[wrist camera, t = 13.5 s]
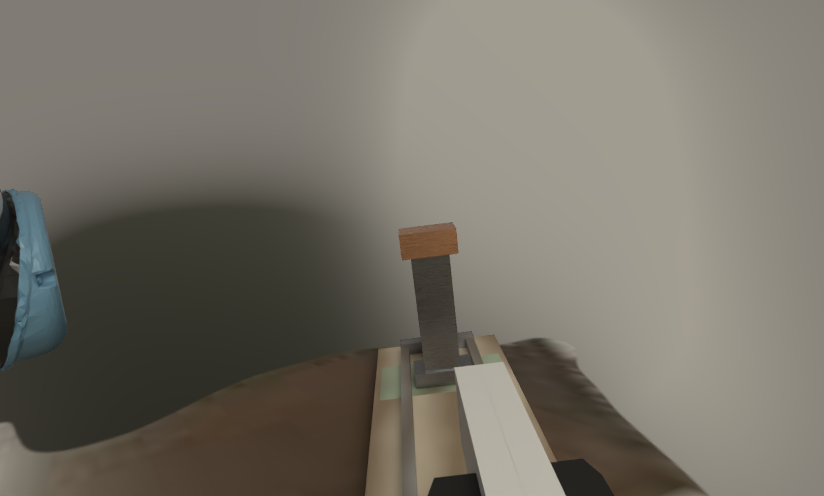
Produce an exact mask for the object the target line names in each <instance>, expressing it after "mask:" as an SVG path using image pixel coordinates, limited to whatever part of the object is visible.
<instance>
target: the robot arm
mask: <svg viewBox="0 0 824 496" xmlns="http://www.w3.org/2000/svg"><path fill="white" fill-rule="evenodd" d="M66 334H67V323H66V318H65V313H64V308H63V303H62V298H61V293H60V289H59V284H58V279H57V274H56V270H55V265H54V260H53V255H52V251H51V246H50V242H49V237H48V232H47V227H46V223H45V218H44V213H43V208H42V204H41V200H40V198H39V197H38V195H37V194H34V193H33V192H30V191H17V190H14V189H11V190H4V191H3V192H2V193H1V191H0V371H4V370H7V369H8V368H10V367H11V366H12V365H14V364H16V363H19V362H22V361H25V360H28V359H31V358H34V357H37V356H40V355H43V354H46V353H48V352H51V351H52V350H54V349H55V348H57V347H58V346H59V345H60V344H61V343H62V342H63V340H64V339H65V337H66ZM454 372H455V383H456V393H457V404H458V414H459V425H460V435H461V444H462V449H463V454H464V459H465V463H466V468H467V473H468V474H462V475H453V476H445V477H437V478H434V479H433V482H432V485H431V487H430V490H429V493H428V495H427V496H614V494H613V493H612V491H611V489H610V488H609V486H608V485H607V483H606V481H605V480H604V478H603V476H602V475H601V474H600V473H599V472H598V471H597V470H595V469H594V468H593V467H592V466H591V465H589V464H588V463H587V462H586V461H585V460H584V459H576V460H567V461H559V462H550V461H549V459H548V457H547V454H546V452H545V450H544V448H543V446H542V444H541V442H540V439H539V437H538V435H537V433H536V431H535V429H534V427H533V425H532V422H531V420H530V418H529V416H528V414H527V412H526V410H525V407H524V405H523V403H522V401H521V399H520V397H519V395H518V392H517V390H516V388H515V386H514V384H513V382H512V380H511V377H510V375H509V373H508V371H507V369H506V367H505V365H504V363H503V362H497V363H488V364H480V365H471V366H463V367H454Z"/></svg>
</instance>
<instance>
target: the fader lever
mask: <svg viewBox="0 0 824 496" xmlns="http://www.w3.org/2000/svg"><path fill="white" fill-rule="evenodd" d="M399 242H400V249H401V257H402V260H409V259H411V263H412V271H413V279H414V287H415V294H416V303H417V311H418V319H419V327H420V335H421V343H422V351H423V359H424V360H417V361H414V373H415V382H416V388H422V387H430V386H438V385H446V384H454V383H455V372H454V367H463V366H471V364H470V361H469V358H468V354H465V355H459V345H458V335H457V326H456V316H455V306H454V296H453V287H452V277H451V267H450V257H449V255H450V254H457V253H458V243H457V233H456V228H455V226H454V224H453V223H452V222H450V223H443V224H434V225H426V226H418V227H411V228H402V229H399Z"/></svg>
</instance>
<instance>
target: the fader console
mask: <svg viewBox="0 0 824 496" xmlns="http://www.w3.org/2000/svg"><path fill="white" fill-rule="evenodd" d="M457 335H458V345H459V355H465V354H468V358H469V361H470V364H471V365H480V364H488V363H497V362H503V363H504V365H505V367H506V369H507V371H508V373H509V375H510V377H511V380H512V382H513V384H514V386H515V388H516V390H517V392H518V395H519V397H520V399H521V401H522V403H523V405H524V407H525V410H526V412H527V414H528V416H529V418H530V420H531V422H532V425H533V427H534V429H535V431H536V433H537V435H538V437H539V439H540V442H541V444H542V446H543V448H544V450H545V452H546V454H547V457H548V459H549V461H550V462H557V461H556V459H555V457H554V455H553V453H552V451H551V449H550V447H549V445H548V443H547V441H546V439H545V437H544V435H543V433H542V430H541V428H540V426H539V424H538V422H537V420H536V418H535V416H534V414H533V412H532V410H531V408H530V406H529V404H528V402H527V400H526V398H525V396H524V394H523V392H522V390H521V388H520V386H519V384H518V382H517V380H516V378H515V376H514V374H513V372H512V370H511V368H510V366H509V364H508V362H507V360H506V358H505V356H504V354H503V352H502V350H501V348H500V346H499V343H498V341H497V339H496V338H495V336H494V335H487V336H479V337H473V333H472V331H469V332H461V333H457ZM417 360H424V359H423V351H422V343H421V338H413V339H405V340H400V346H399V347H391V348H383V349H379V351H378V362H377V372H376V383H375V394H374V405H373V415H372V426H371V437H370V448H369V459H368V469H367V480H366V491H365V496H427V495H428V493H429V490H430V487H431V485H432V482H433V479H434V478H437V477H445V476H453V475H462V474H468V473H467V468H466V463H465V459H464V454H463V449H462V444H461V435H460V425H459V414H458V404H457V393H456V383H454V384H446V385H438V386H430V387H422V388H416V382H415V373H414V361H417Z"/></svg>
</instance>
